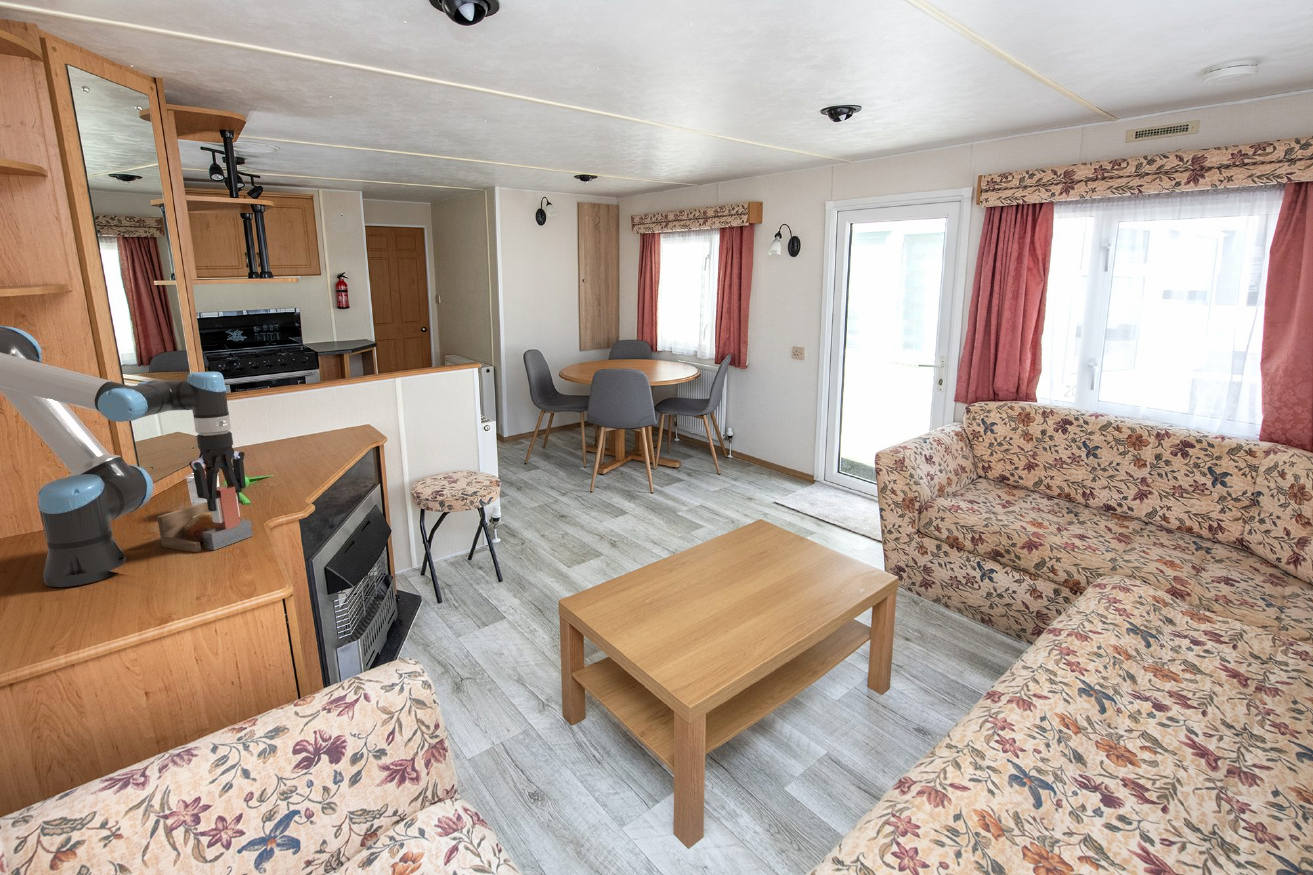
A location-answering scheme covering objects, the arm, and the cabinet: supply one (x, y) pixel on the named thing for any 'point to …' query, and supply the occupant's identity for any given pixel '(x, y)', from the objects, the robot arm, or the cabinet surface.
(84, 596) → the cabinet surface
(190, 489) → the striped cup with float
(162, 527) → the frame
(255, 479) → the lime squeezer
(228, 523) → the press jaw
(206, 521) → the bread roll
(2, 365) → the robot arm
